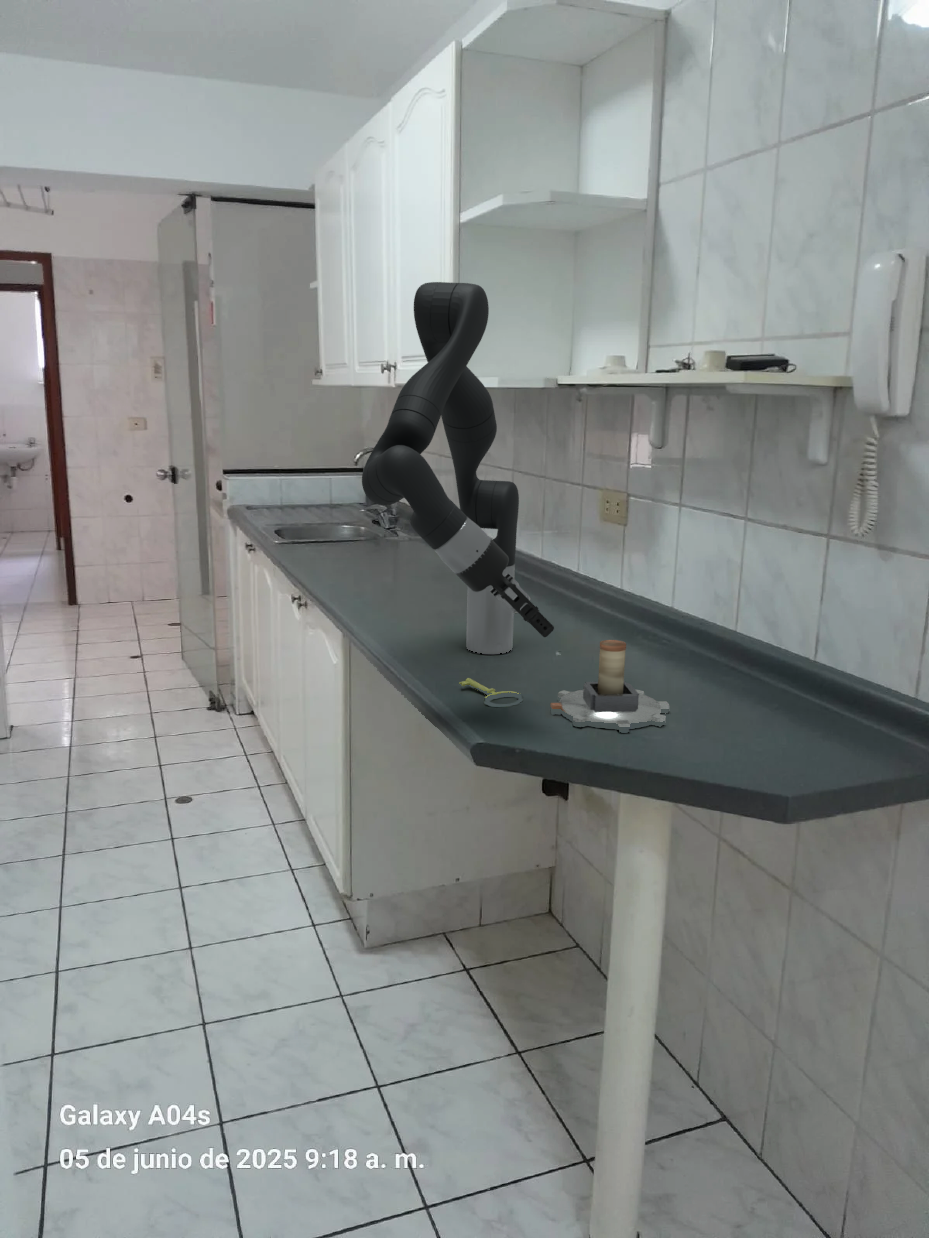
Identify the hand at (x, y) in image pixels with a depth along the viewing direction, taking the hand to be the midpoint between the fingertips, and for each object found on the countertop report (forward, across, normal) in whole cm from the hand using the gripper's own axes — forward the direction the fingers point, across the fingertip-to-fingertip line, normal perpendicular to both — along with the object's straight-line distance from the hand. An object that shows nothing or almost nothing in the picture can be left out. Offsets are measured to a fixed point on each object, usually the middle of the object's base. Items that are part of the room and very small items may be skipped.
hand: (542, 626), depth 146 cm
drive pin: (+17, 0, +1) cm, 17 cm away
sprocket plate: (+18, 0, +2) cm, 19 cm away
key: (+7, +10, +15) cm, 19 cm away
